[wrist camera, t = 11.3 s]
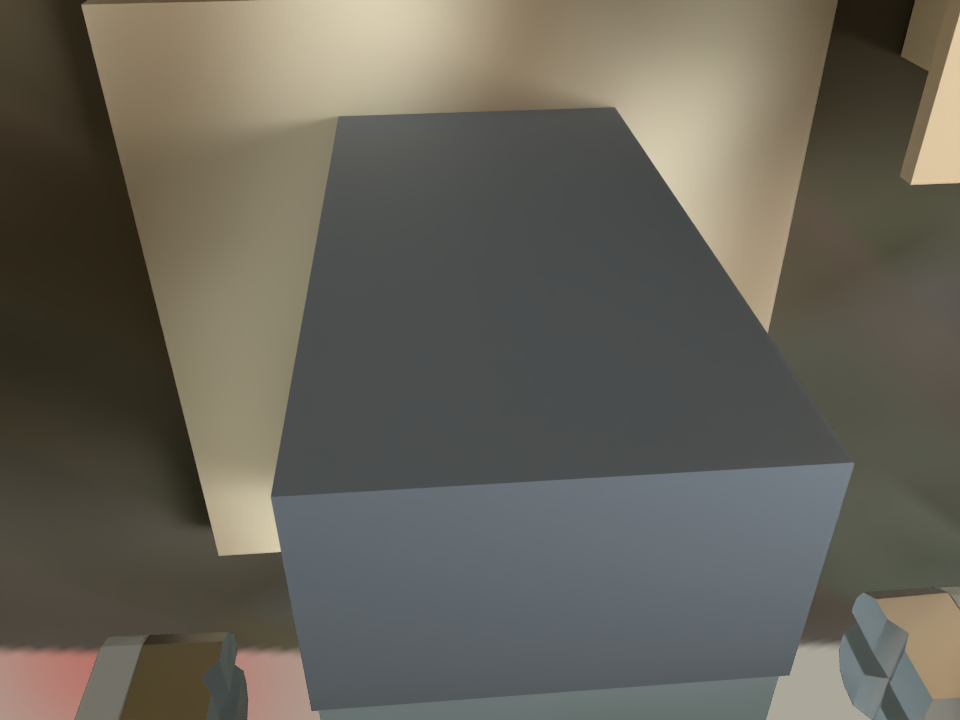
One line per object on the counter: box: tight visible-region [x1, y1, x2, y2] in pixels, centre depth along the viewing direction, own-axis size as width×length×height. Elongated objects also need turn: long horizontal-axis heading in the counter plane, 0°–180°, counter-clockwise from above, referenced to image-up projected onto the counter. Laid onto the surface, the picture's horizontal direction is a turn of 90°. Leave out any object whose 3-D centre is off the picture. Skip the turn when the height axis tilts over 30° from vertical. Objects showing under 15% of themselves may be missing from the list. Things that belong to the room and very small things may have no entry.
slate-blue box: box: [271, 107, 855, 720], centre depth 14 cm, size 5×9×10 cm, turn 1°
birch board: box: [81, 0, 838, 556], centre depth 19 cm, size 13×13×1 cm
